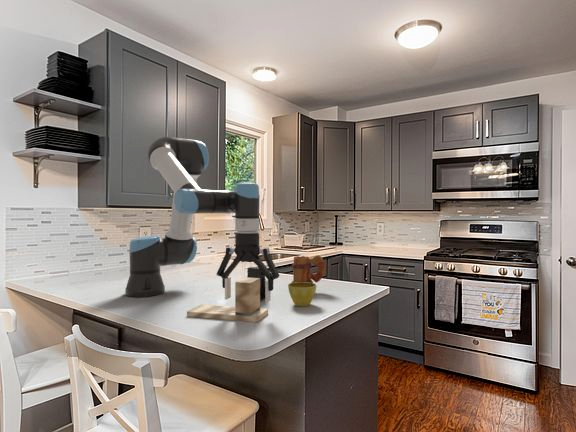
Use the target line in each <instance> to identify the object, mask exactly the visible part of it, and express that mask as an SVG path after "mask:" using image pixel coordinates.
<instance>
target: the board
mask: <svg viewBox="0 0 576 432" xmlns="http://www.w3.org/2000/svg"><path fill="white" fill-rule="evenodd" d="M268 314H269V309H268V308H260V309H259V310H258V311H257V312H255V313H254V314H253V315H251V316H244V315H235V306H229V305H228V306H227V305H216V304H215V305H213V304H200V305H197V306H196V307H193V308H192V309H189V310H187V311H186V317H193V318H203V319H204V318H205V319H217V320H225V321H227V320H228V321H241V322H253V323H254V322H255V323H259V322H260V321H261V320H262V319H264V318H265V317H266V316H267V315H268Z"/></svg>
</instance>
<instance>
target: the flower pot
mask: <svg viewBox="0 0 576 432" xmlns="http://www.w3.org/2000/svg"><path fill="white" fill-rule="evenodd" d="M287 287H288V293H289V296H290V298H291V300H292V302H293V304H294V306H297V307H308V306H310V304H311V303H312V302H313V299H314V297H315V294H316V291H317V284H316V283H314V282H313V283H308V282H294V283H291V282H290V283H288V284H287Z"/></svg>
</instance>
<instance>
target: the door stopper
mask: <svg viewBox="0 0 576 432" xmlns="http://www.w3.org/2000/svg"><path fill="white" fill-rule="evenodd" d="M246 273H247V278H260V302H261V301H263V300H265V281H266V280H267V278H266V277H265V275H264V274H263V273H262V271H261V270H260V269H259V268H258V266H257V267H256V266H248V267H247V271H246Z"/></svg>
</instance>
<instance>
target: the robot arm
mask: <svg viewBox="0 0 576 432" xmlns="http://www.w3.org/2000/svg"><path fill="white" fill-rule="evenodd" d="M147 160H148V162H149V164H150V165H151V167H152V168H153V169H155V170H156V171H158V172H159V173H160V174H161V176H162V177H163V179H164V180H165V182H166V183H167V184H168V186H169V188H171V190H172V191H173V194H172V195H173V196H172V204H171V214H170V223H169V229H168V230H167V231H166V232H164V238H163V237H161V236H160V235H157V234H154V235H146V236H141V237H140V236H139V237H136V238H133V239H131V240H130V242H129V250H128V253H129V278H128V280H127V284H126V287H125V292H124V294H125V296H126V295H127V297H130V296H131V297H132V298H143V297H152V296H157V295H160V294H161V295H163V294H164V293H165V292H166V286H165V283H164V281H163V276H162V275H161V267H164V266H173V265H184V264H188V263H189V264H190V263H191V262H192V261H194V259H195V258H196V256H197V251H198V246H197V243H198V241H197V240H196V238H195V237H194V234H193V233H192V232H191V229H192V227H191V226H192V219H193V214H228V215H229V214H234V215H235V216H234V218H235V219H234V220H235V222H234V224H235V227H234V231H236V233H235V238H234V240H235V247H233V246H227V247H226V248H225V254H224V255H223V259H222V261H221V263H220V265H219V267H218V270H217V271H216V276H218V277H220V278H222V280H221V281H222V288H223V289H224V300H229V299H230V298H231V297H232V291H231V289H232V287H231V285H232V283H231V282H232V279H231V278H232V277H231V276H230V275H231V273H232V272H233V271H234V270H235V268H237V266H238V265H239V264H240V262H241V263H244V262H246V263H253V264H254V265H256V266H257V267H258V268H259V269H260V270H261V271H262V273H263V274H264V275H265V279H266V281H265V299H264V300H265V301H264V302H265V303H269V302H270V301H271V300H272V299H271V297H272V296H271V295H272V291H273V290H274V280H276V279H278V278H279V277H280V274H279V271H278V269H277V267H276V265H275V263H274V261H273V259H272V256H271V253H270V252H271V251H270V248H269V247H266V248H265V247H264V248H261V247H260V233H259V231H260V197H261V196H260V187H259V185H258V183H255V182H238V183H236V184H235V185H234V186H235V187H234V190H221V189H220V190H218V189H216V190H215V189H214V190H213V189H202V188H201V187H200V186H199V185H198V183H197V181H198V178H199V177H200V176H202V171H204V170H206V169H207V168H208V166H209V162H210V155H209V150H208V148H207V146H206V144H205V143H204V142H202V141H200V140H196V139H189V138H181V137H174V136H162V137H158V138H157V139H154V141H153V142H151V143H150V145H149V147H148V149H147ZM233 254H235V255H236V257H234V259H233V261H232V262H231V264H230V265H229V266H228V264H229V262H230V260H231V258H232V256H233ZM260 254H261V255H262V256H263V258H264V261H265V263H266V264H267V266H266V265H265V264H264V262H263V260H262V259H261V257H260V256H259V255H260ZM268 268H269V269H268Z"/></svg>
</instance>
